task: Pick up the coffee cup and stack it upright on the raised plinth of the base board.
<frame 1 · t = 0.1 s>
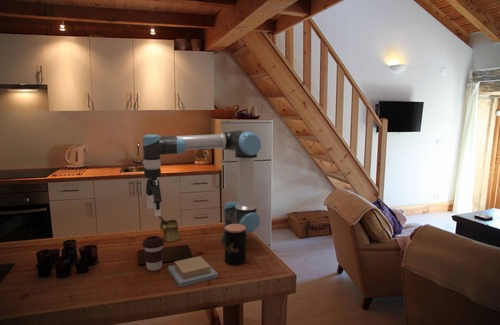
hand: (154, 212, 165), 28 cm above the table, fingers open, 13 cm apart
brass coffee pot: (168, 240, 204), on the table
coffee jar: (235, 261, 177), on the table
base: (192, 274, 163), on the table
coffee cup: (154, 268, 169), on the table
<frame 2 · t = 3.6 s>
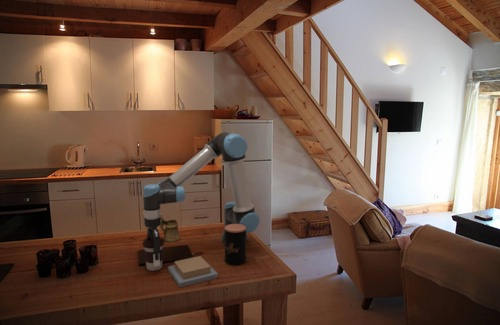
hand: (154, 261, 169), 3 cm above the table, fingers closed on coffee cup, 9 cm apart
coffee cup: (154, 268, 169), on the table, touching gripper
everything else where it was.
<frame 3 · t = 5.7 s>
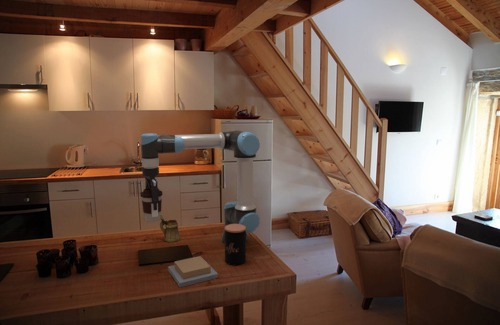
hand: (152, 213, 165), 27 cm above the table, fingers closed on coffee cup, 9 cm apart
coffee cup: (152, 220, 165), point 24 cm above the table, touching gripper
everything else where it was.
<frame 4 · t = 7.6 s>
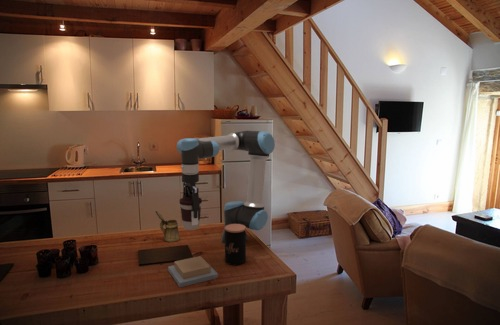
hand: (191, 221, 159), 26 cm above the table, fingers closed on coffee cup, 9 cm apart
coffee cup: (191, 228, 159), point 23 cm above the table, touching gripper
everything else where it was.
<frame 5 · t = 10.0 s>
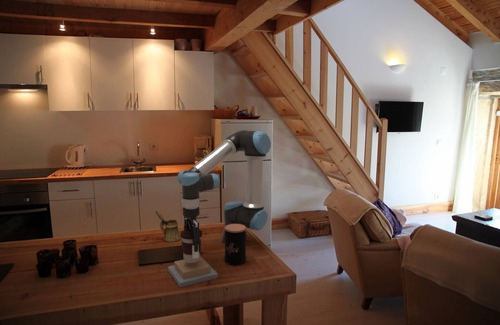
hand: (191, 253, 161), 10 cm above the table, fingers closed on coffee cup, 9 cm apart
coffee cup: (191, 260, 162), point 7 cm above the table, touching gripper
everything else where it was.
when the fingers open (8 cm above the table, at t = 11.6 s): coffee cup stays where it is, resting on base.
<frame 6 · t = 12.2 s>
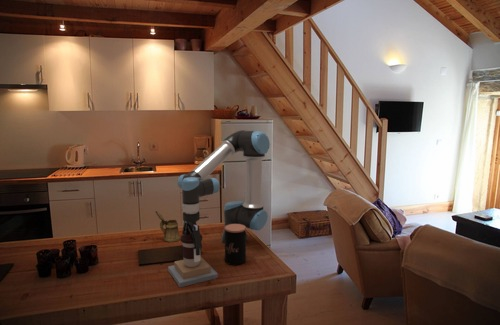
hand: (192, 255, 161), 9 cm above the table, fingers open, 13 cm apart
coffee cup: (192, 264, 162), point 5 cm above the table, touching base
everything else where it was.
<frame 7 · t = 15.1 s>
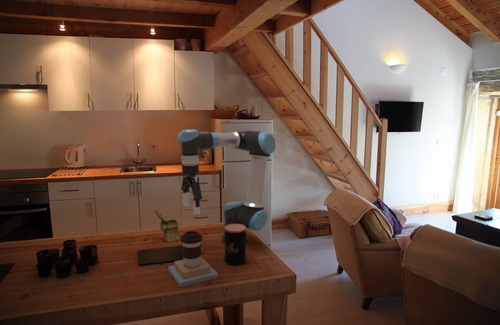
hand: (191, 209, 159), 31 cm above the table, fingers open, 13 cm apart
nothing on the table moved.
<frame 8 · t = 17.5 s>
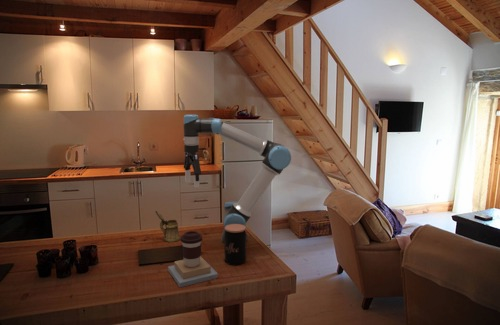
hand: (192, 184, 184), 37 cm above the table, fingers open, 13 cm apart
nothing on the table moved.
at the end: coffee cup inside the target area on the base (0.1 cm from its centre), point 4.8 cm above the base's base; coffee cup tilted 0°; the gripper is holding nothing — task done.
